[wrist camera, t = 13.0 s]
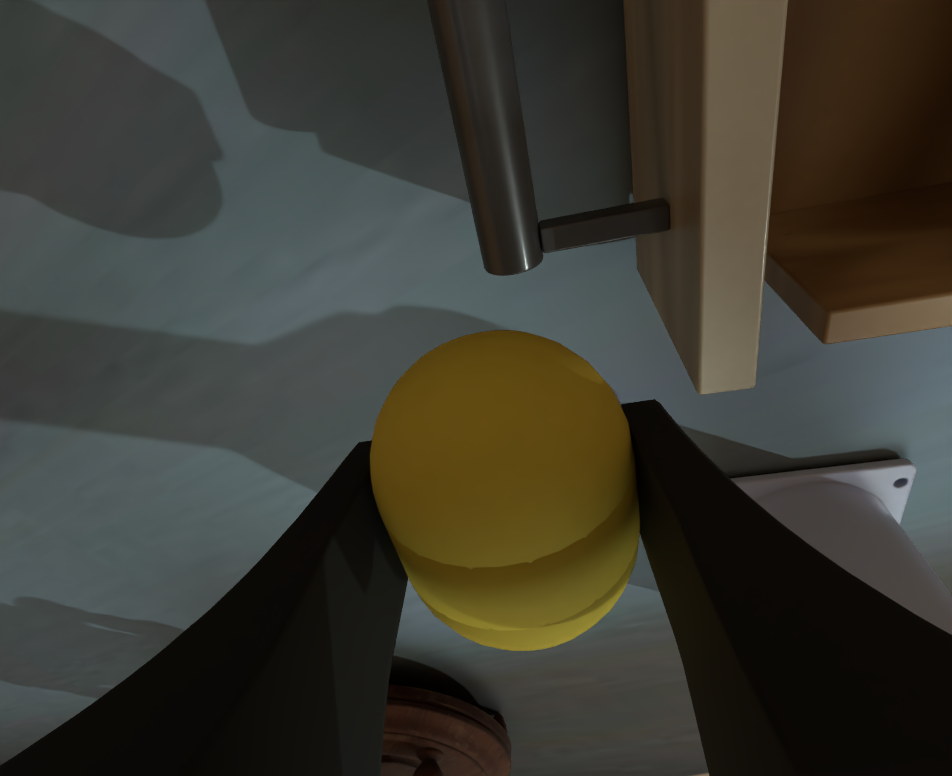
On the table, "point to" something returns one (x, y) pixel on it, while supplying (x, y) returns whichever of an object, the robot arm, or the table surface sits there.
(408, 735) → the wooden rope wheel ornament
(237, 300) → the table surface
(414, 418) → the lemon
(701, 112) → the drawer
